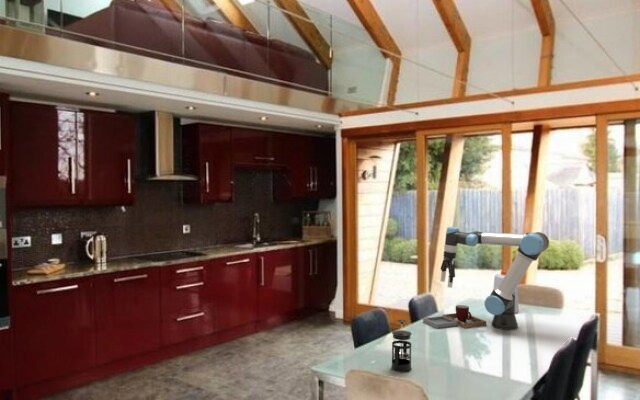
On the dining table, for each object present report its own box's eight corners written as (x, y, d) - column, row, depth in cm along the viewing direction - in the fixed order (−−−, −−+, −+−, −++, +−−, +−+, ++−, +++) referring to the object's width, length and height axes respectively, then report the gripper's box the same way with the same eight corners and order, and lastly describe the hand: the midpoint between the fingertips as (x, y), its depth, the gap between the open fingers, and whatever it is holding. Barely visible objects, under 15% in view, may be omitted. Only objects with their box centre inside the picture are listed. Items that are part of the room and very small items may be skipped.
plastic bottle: (489, 309, 353) (490, 269, 352) (510, 308, 354) (510, 269, 354) (499, 314, 338) (500, 273, 337) (521, 314, 339) (521, 272, 339)
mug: (474, 322, 316) (474, 307, 316) (468, 325, 310) (469, 309, 310) (459, 319, 323) (459, 304, 323) (453, 322, 317) (453, 306, 317)
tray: (457, 326, 307) (457, 321, 307) (436, 329, 302) (437, 324, 302) (443, 320, 321) (443, 315, 321) (423, 322, 316) (423, 318, 316)
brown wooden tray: (486, 326, 309) (486, 321, 309) (464, 328, 303) (464, 323, 303) (462, 317, 330) (462, 312, 330) (442, 319, 324) (442, 314, 324)
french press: (396, 363, 242) (396, 316, 242) (414, 367, 237) (415, 318, 237) (386, 370, 232) (387, 321, 232) (405, 374, 227) (406, 324, 227)
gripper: (438, 247, 327) (434, 278, 329) (451, 255, 303) (446, 289, 305) (449, 247, 328) (445, 279, 330) (463, 256, 303) (458, 290, 305)
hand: (446, 284), depth 317 cm, fingers open, 13 cm apart
